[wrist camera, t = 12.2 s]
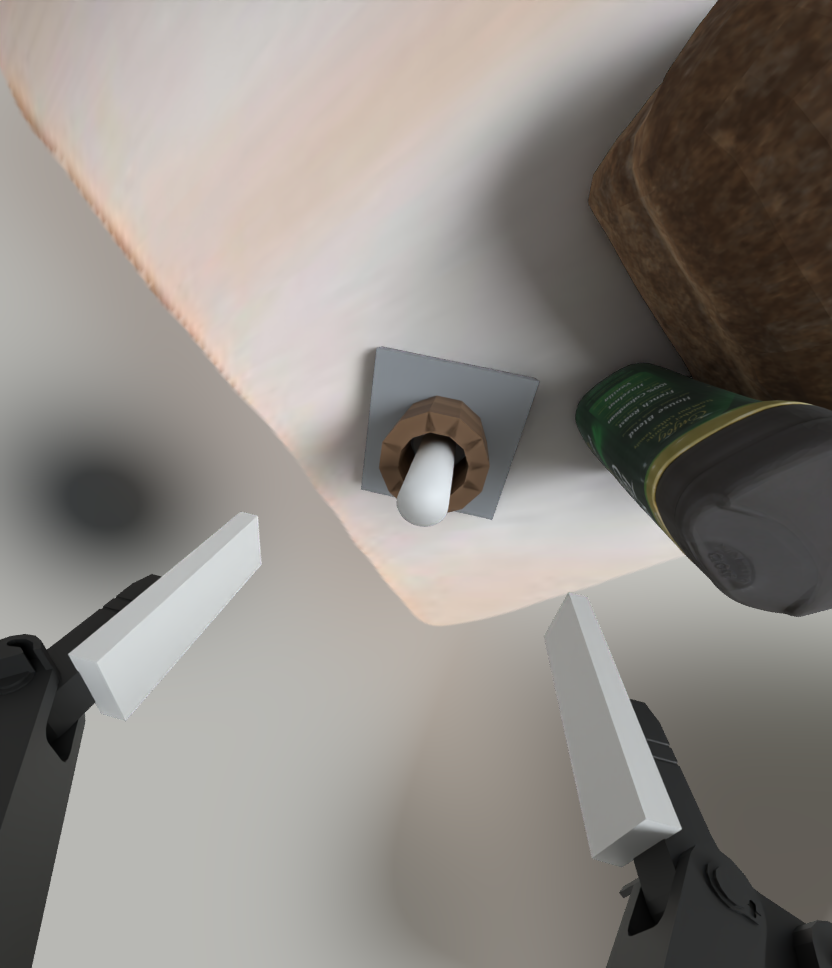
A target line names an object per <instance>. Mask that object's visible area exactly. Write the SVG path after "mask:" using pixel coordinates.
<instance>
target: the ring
mask: <svg viewBox="0 0 832 968" xmlns="http://www.w3.org/2000/svg"><path fill="white" fill-rule="evenodd" d="M430 432H431V433H435V434H440V435H444V436H449V437H450V438H451V439H453V440H454V441H455V442H456V443H457V444H458V445H459V446H460V447H462V448H463V449H464V452H465V455H466V456H465V457H464V458H463V459H462V460H461V461H460V462H459V463H458V464H457V465H456V466H454V468H453V476H452V483H451V491H450V499H449V506H448V511H447V513H448V512H452V511H456V510H461V509H463V508H464V507H465V506H466V505H467V504H469V503H470V502H471V501H472V500H473V499H474V498H475V497H477V496H478V495H479V494H480V493H481V492H482V490H483V487H484V483H485V480H486V477H487V474H488V470H489V467H490V462H489V455H488V447H487V440H486V437H485V433H484V429H483V426H482V422H481V419H480V417H479V416H478V415H477V414H476V413H475V412H473V411H472V410H471V409H470V408H469V407H468V406H467V405H466V404H465V403H464V402H463V401H460V400H456V399H451V398H446V397H442V396H434V397H431V398H428V399H425V400H422V401H419V402H416V403H413V404H412V406H411V407H410V408H409V409H408V410H407V411H406V413H405V414H404V415H403V416H402V417H401V419H400V420H399V421H398V422H397V423H396V425H395V426H394V427H393V429H392V430H391V431H390V432H389V434H388V435H387V436H386V438H385V439H384V440H383V442H382V448H381V455H380V463H379V470H380V472H381V475H382V477H383V479H384V482H385V484H386V486H387V489H388V491H389V493H391V494H392V495H393V496H394V497H396V498H397V497H398V494H399V492H400V489H401V487H402V485H403V482H404V480H405V478H406V476H407V473H408V471H409V469H410V466H411V464H412V462H413V459H414V457H415V454H414V451H413V449H412V446H411V439H412V438H414V437H417V436H420V435H423V434H427V433H430Z"/></svg>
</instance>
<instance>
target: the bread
mask: <svg viewBox="0 0 832 968" xmlns="http://www.w3.org/2000/svg"><path fill="white" fill-rule="evenodd" d="M588 203H589V206H590V208H591V210H592V211H593V213H594V215H595V217H596V218H597V220H598V222H599V223H600V225H601V226H602V228H603V230H604V231H605V233H606V234H607V236H608V238H609V239H610V241H611V243H612V245H613V247H614V248H615V250H616V252H617V254H618V256H619V258H620V259H621V261H622V263H623V265H624V267H625V268H626V270H627V272H628V274H629V276H630V277H631V279H632V281H633V283H634V284H635V286H636V287H637V289H638V291H639V292H640V294H641V296H642V297H643V299H644V301H645V302H646V304H647V305H648V307H649V309H650V310H651V312H652V313H653V315H654V316H655V318H656V319H657V321H658V323H659V324H660V326H661V327H662V329H663V330H664V332H665V333H666V335H667V336H668V338H669V340H670V341H671V343H672V344H673V346H674V347H675V349H676V350H677V352H678V353H679V355H680V356H681V358H682V359H683V361H684V362H685V364H686V366H687V368H688V370H689V372H690V373H691V375H692V377H693V379H695V380H697V381H700V382H703V383H706V384H709V385H712V386H715V387H718V388H721V389H724V390H727V391H730V392H733V393H736V394H739V395H742V396H745V397H748V398H752V399H756V400H760V401H775V400H783V401H795V402H802V403H807V404H811V405H815V406H819V407H822V408H825V409H828V410H831V411H832V0H718V1H717V2H716V4H715V5H714V6H713V8H712V9H711V10H710V12H709V13H708V14H707V15H706V17H705V18H704V19H703V21H702V22H701V23H700V25H699V26H698V27H697V28H696V30H695V31H694V33H693V34H692V36H691V37H690V39H689V40H688V42H687V43H686V45H685V46H684V48H683V49H682V51H681V52H680V54H679V55H678V57H677V58H676V60H675V61H674V63H673V64H672V66H671V67H670V69H669V70H668V72H667V73H666V76H665V78H664V80H663V83H662V84H661V85H660V86H659V87H658V88H657V89H656V90H655V91H654V93H653V94H652V95H651V97H650V98H649V99H648V101H647V102H646V103H645V105H644V106H643V107H642V109H641V110H640V111H639V112H638V114H637V115H636V116H635V118H634V119H633V120H632V122H631V123H630V124H629V125H628V126H627V128H626V129H625V130H624V131H623V132H622V134H621V135H620V136H619V137H618V138H617V140H616V141H615V143H614V144H613V146H612V147H611V149H610V150H609V152H608V153H607V155H606V156H605V158H604V159H603V161H602V162H601V164H600V165H599V167H598V168H597V170H596V172H595V173H594V175H593V179H592V184H591V189H590V194H589V199H588Z"/></svg>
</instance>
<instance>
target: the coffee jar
mask: <svg viewBox="0 0 832 968" xmlns="http://www.w3.org/2000/svg"><path fill="white" fill-rule="evenodd" d="M575 419H576V424H577V427H578V429H579V431H580V433H581V435H582V437H583V439H584V440H585V442H586V444H587V445H588V447H589V448H590V449H591V451H592V452H593V453H594V455H595V456H596V457H597V458H598V459H599V460H600V462H601V463H602V464H603V465H604V466H605V467H606V468H607V469H608V470H609V471H610V473H611V474H612V475H613V476H614V477H615V478H616V479H617V481H618V482H619V483H620V484H621V485H622V486H623V487H624V489H625V490H626V491H627V492H628V493H629V495H630V496H631V497H632V498H633V499H634V500H635V501H636V502H637V503H638V504H639V506H640V507H641V508H642V509H643V510H644V511H645V512H646V513H647V514H648V515H649V516H650V517H651V518H652V519H653V521H654V522H655V523H656V524H657V525H658V526H659V527H660V528H661V529H662V530H663V531H664V533H665V534H666V535H667V536H668V537H669V538H670V539H671V540H672V541H673V542H674V543H675V544H676V545H677V547H678V548H679V549H680V550H681V551H682V552H683V553H684V554H685V555H686V556H687V557H688V558H689V559H690V560H691V561H692V562H693V563H694V564H695V565H696V566H697V567H698V568H699V569H700V570H701V571H702V572H703V573H704V574H705V575H706V576H707V577H708V578H709V579H710V580H711V581H712V582H713V584H714V585H715V586H716V587H717V588H718V589H719V590H720V591H722V592H723V593H724V594H725V595H726V596H728V597H729V598H731V599H733V600H734V601H736V602H738V603H741V604H743V605H746V606H749V607H752V608H756V609H760V610H764V611H770V612H775V613H784V614H788V615H790V616H796V617H801V616H805V615H809V614H813V613H817V612H820V611H824V610H828V609H832V411H831V410H828V409H825V408H822V407H819V406H815V405H811V404H807V403H802V402H795V401H783V400H775V401H760V400H756V399H752V398H748V397H745V396H742V395H739V394H736V393H733V392H730V391H727V390H724V389H721V388H718V387H715V386H712V385H709V384H706V383H703V382H700V381H697V380H695V379H692V378H690V377H687V376H684V375H682V374H679V373H676V372H674V371H671V370H669V369H666V368H663V367H660V366H656V365H653V364H648V363H637V364H633V365H629V366H627V367H625V368H622V369H620V370H619V371H617V372H615V373H613V374H612V375H610V376H609V377H607V378H606V379H604V380H603V381H601V382H600V383H598V384H597V385H596V386H595V387H593V388H592V389H591V390H590V391H589V392H588V393H587V394H586V395H585V396H584V397H583V398H582V400H581V401H580V403H579V405H578V407H577V410H576V415H575Z"/></svg>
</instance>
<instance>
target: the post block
mask: <svg viewBox="0 0 832 968" xmlns="http://www.w3.org/2000/svg"><path fill="white" fill-rule="evenodd" d="M539 382H540V381H538V380H537V379H536V378H533V377H528V376H523V375H518V374H513V373H509V372H504V371H499V370H494V369H489V368H484V367H479V366H475V365H470V364H465V363H460V362H455V361H450V360H445V359H440V358H436V357H431V356H426V355H421V354H416V353H411V352H406V351H402V350H397V349H392V348H387V347H379V348H377V349H376V358H375V368H374V377H373V386H372V395H371V404H370V413H369V422H368V431H367V441H366V450H365V459H364V468H363V477H362V486H361V489H362V490H366V491H371V492H375V493H379V494H383V495H388V496H392V497H394V496H393V495H392V494H391V493H389V491H388V489H387V486H386V484H385V482H384V479H383V477H382V475H381V472H380V470H379V463H380V455H381V448H382V442H383V440H384V439H385V438H386V436H387V435H388V434H389V432H390V431H391V430H392V429H393V427H394V426H395V425H396V423H397V422H398V421H399V420H400V419H401V417H402V416H403V415H404V414H405V413H406V411H407V410H408V409H409V408H410V407H411V406H412V404H413V403H416V402H419V401H422V400H425V399H428V398H431V397H434V396H442V397H446V398H451V399H456V400H460V401H463V402H464V403H465V404H466V405H467V406H468V407H469V408H470V409H471V410H472V411H473V412H475V413H476V414H477V415H478V416H479V417H480V419H481V422H482V426H483V429H484V433H485V437H486V440H487V447H488V455H489V462H490V467H489V470H488V474H487V477H486V480H485V483H484V487H483V490H482V492H481V493H480V494H479V495H478V496H477V497H475V498H474V499H473V500H472V501H471V502H470V503H469V504H467V505H466V506H465V507H464V508H463V509H461V510H456V512H461V513H465V514H469V515H473V516H478V517H482V518H486V519H491V520H492V519H493V516H494V513H495V510H496V507H497V504H498V501H499V498H500V496H501V493H502V490H503V487H504V484H505V481H506V478H507V475H508V472H509V469H510V466H511V463H512V460H513V458H514V455H515V452H516V449H517V446H518V443H519V440H520V437H521V434H522V431H523V428H524V425H525V422H526V420H527V417H528V414H529V411H530V408H531V405H532V402H533V399H534V396H535V393H536V390H537V387H538V384H539ZM411 446H412V449H413V451H414V454H415V457H414V459H413V462H412V464H411V466H410V469H409V471H408V473H407V476H406V478H405V480H404V482H403V485H402V487H401V489H400V492H399V494H398V497H397V508H398V510H399V512H400V514H401V516H402V517H403V518H404V519H405V520H407V521H408V522H410V523H411V524H414V525H417V526H423V527H427V526H432V525H435V524H437V523H439V522H440V521H442V520H443V519H444V517H445V516H446V514H447V511H448V506H449V499H450V491H451V483H452V476H453V468H454V466H456V465H457V464H458V463H459V462H460V461H461V460H462V459H463V458H464V457H465V456H466V455H465V452H464V449H463V448H462V447H460V446H459V445H458V444H457V443H456V442H455V441H454V440H453V439H451V438H450V437H449V436H444V435H440V434H435V433H431V432H430V433H427V434H423V435H420V436H417V437H414V438H412V439H411Z"/></svg>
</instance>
